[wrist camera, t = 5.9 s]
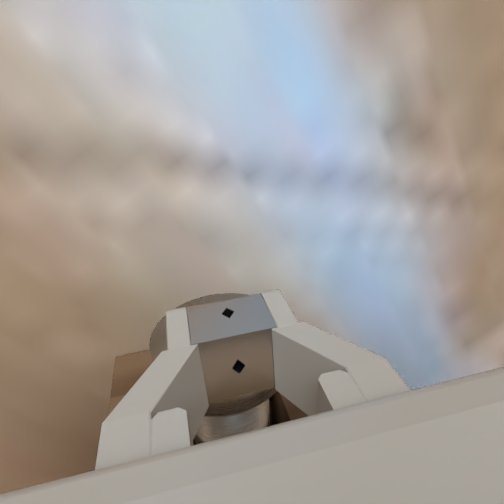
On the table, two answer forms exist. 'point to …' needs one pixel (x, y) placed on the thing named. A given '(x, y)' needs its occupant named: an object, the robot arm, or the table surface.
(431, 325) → the table surface
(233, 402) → the pin
